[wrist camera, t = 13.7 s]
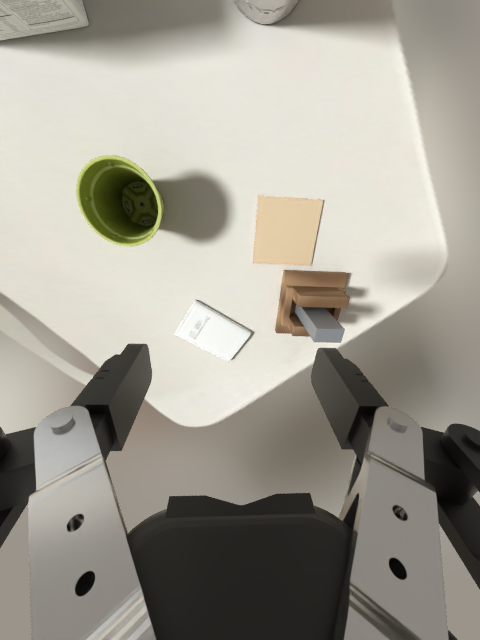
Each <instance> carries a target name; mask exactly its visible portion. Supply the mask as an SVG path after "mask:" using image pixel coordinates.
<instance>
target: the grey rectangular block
mask: <svg viewBox="0 0 480 640" xmlns="http://www.w3.org/2000/svg"><path fill="white" fill-rule="evenodd" d="M295 313H296V314H297V316H298V317H299V319H300V321H301V322H302V324H303V325H304V327H305V329H306V330H307V332H308V333H309V335H310V337H311V338H312V340H313V341H314V342H337V343H341V341H342V337H343V334H344V330H345V329H344V328H343V327H342V326H341V325H340V324H339V322H338V321H337V320H336V319H335V318H334V317H333V316H332V315H331V314H330V313H329V312H328V311H327V310H326V309H325V308H324V307H298V306H297V305H296V307H295Z"/></svg>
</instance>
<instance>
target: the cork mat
mask: <svg viewBox="0 0 480 640" xmlns="http://www.w3.org/2000/svg"><path fill="white" fill-rule="evenodd" d="M322 205H323V200H313V199H297V198H281V197H265V196H258V202H257V215H256V228H255V241H254V254H253V263H259V264H282V265H306V266H311V262H312V257H313V251H314V246H315V241H316V236H317V231H318V225H319V220H320V215H321V210H322Z"/></svg>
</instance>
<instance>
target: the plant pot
mask: <svg viewBox="0 0 480 640" xmlns="http://www.w3.org/2000/svg"><path fill="white" fill-rule="evenodd" d="M134 185H142V186H143V187H137V188H133V187H134ZM76 195H77V201H78V205H79V208H80V210H81V212H82V215H83V217H84V218H85V220H86V221H87V223H88V224H89V225H90V227H91V228H92V229H93V230H94V231H95V232H96V233H97V234H98V235H100V236H101V237H102V238H104V239H105V240H107V241H109V242H111V243H114V244H117V245H120V246H137V245H140V244H143V243H145V242H147V241H148V240H150V239H151V238H152V237H153V236H154V235H155V233H156V232H157V230H158V228H159V226H160V223H161V218H162V216H163V213H164V202H163V199H162V197H161V195H160V193H159V191H158V190H157V189H156V187H155V185H154V183H153V182H152V180H151V179H150V177H149V176H148V175H147V174H146V172H145V171H144V170H143V169H141V168H140V167H139V166H138V165H136V164H135V163H133V162H132V161H130V160H128V159H126V158H123V157H120V156H115V155H104V156H99V157H96V158H94V159H92V160H91V161H89V162H88V163H87V164H86V165H85V166H84V167H83V169H82V170H81V172H80V174H79V177H78V180H77V185H76ZM126 201H127V202H128V207H129V210H130V211H128V209H127V208H126V204H125V202H126ZM141 203H144V206H141ZM143 220H152V222H148V223H144V222H143Z"/></svg>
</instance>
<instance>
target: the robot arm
mask: <svg viewBox="0 0 480 640" xmlns="http://www.w3.org/2000/svg"><path fill="white" fill-rule="evenodd" d="M234 1H235V3H236V5H237V6H238V8H239V9H240V10H241V12H242V13H243V14H244V15H245V16H246V17H248V18H249V19H251V20H253V21H254V22H257V23H261V24H272V23H275V22H277V21H280V20H281V19H283V18H284V17H286V16H287V15H288V14H289V13H290V12H291V11H292V9H293V8H294V7H295V5H296V4H297V2H298V1H299V0H234ZM151 379H152V369H151V362H150V356H149V349H148V346H147V344H128V345H127V346H126V348H125V349H124V350H123V352H122V353H121V355H114V356H113V357H111V358H110V359H108V360H107V361H105V362H104V364H103V365H102V366H101V367H100V369H99V371H98V372H97V373H96V374H95V375H94V376H93V379H91V380H90V382H89V383H88V384H87V385H86V387H85V388H84V389H83V391H82V392H81V393H80V394H79V396H78V397H77V398H76V400H75V401H74V402H73V403H72V405H71V406H69V407H65V408H62V409H59V410H57V411H55V412H54V413H51V414H50V415H48V416H47V417H46V418H45V419H43V420H42V421H41V422H40V423H39V424H38V426H37V427H35V428H31V429H26V430H22V431H19V432H14V433H10V434H6V435H5V433H4V432H3V430H2V428H1V427H0V548H1V546H2V544H3V543H4V541H5V539H6V538H7V536H8V534H9V533H10V531H11V529H12V528H13V526H14V525H15V523H16V521H17V520H18V518H19V517H20V515H21V513H22V512H23V510H24V508H25V507H26V505H27V504H28V510H29V511H28V513H29V558H30V603H31V605H30V606H31V640H457V638H456V637H455V636H454V635H453V634H452V633H451V632H450V631H449V630H448V626H447V615H446V603H445V591H444V580H443V567H442V557H441V545H440V532H439V524H440V526H441V527H442V529H443V530H444V532H445V533H446V535H447V537H448V539H449V540H450V542H451V543H452V545H453V547H454V548H455V550H456V552H457V553H458V555H459V556H460V558H461V560H462V561H463V563H464V565H465V566H466V568H467V569H468V571H469V573H470V574H471V576H472V578H473V579H474V581H475V582H476V584H477V586H478V587H479V589H480V506H479V504H478V503H477V502H476V501H475V499H474V498H473V495H474V494H475V493H476V492H477V491H479V492H480V431H478V430H476V429H474V428H472V427H469V426H466V425H463V424H451V425H450V426H449V427H448V428H447V430H446V431H445V433H443V432H439V431H435V430H431V429H427V428H423V427H420V426H419V424H418V423H417V422H416V421H415V420H414V419H413V418H412V417H411V416H410V415H408V414H407V413H405V412H403V411H401V410H399V409H396V408H393V407H389V406H388V405H387V403H386V402H385V401H384V399H383V398H382V397H381V396H380V395H379V394H378V392H377V391H376V389H375V388H374V387H373V386H372V384H371V383H370V382H368V380H367V378H366V377H365V376H364V375H363V373H362V372H361V371H360V369H359V368H358V367H357V366H356V365H355V364H353V363H352V362H351V361H349V360H348V359H344V358H343V357H342V355H341V354H340V353H339V351H338V350H337V349H336V348H319V349H318V350H317V353H316V357H315V361H314V365H313V369H312V374H311V381H312V386H313V388H314V390H315V392H316V394H317V397H318V399H319V401H320V403H321V405H322V407H323V409H324V412H325V414H326V416H327V418H328V420H329V422H330V425H331V427H332V429H333V431H334V433H335V435H336V437H337V440H338V442H339V444H340V446H341V448H342V449H353V450H354V451H355V453H356V456H355V458H354V461H353V466H352V470H351V474H350V478H349V482H348V486H347V490H346V495H345V499H344V503H343V506H342V509H341V512H340V514H339V517H336V516H335V515H333V514H331V513H329V512H328V511H326V510H324V509H321V508H319V507H316V506H313V502H312V499H311V495H310V493H294V494H293V493H292V494H275V495H272V496H269V497H266V498H263V499H261V500H258V501H255V502H252V503H249V504H246V505H236V504H233V503H229V502H226V501H222V500H219V499H215V498H212V497H208V496H170V497H169V502H168V506H167V509H166V510H162V511H160V512H158V513H156V514H154V515H152V516H150V517H149V518H147V519H145V520H144V521H143V522H141V523H140V524H138V525H137V526H136V527H135V528H133V529H132V530H131V531H130V532H129V533H128V530H127V527H126V524H125V521H124V518H123V515H122V512H121V509H120V506H119V503H118V499H117V496H116V493H115V490H114V486H113V483H112V480H111V477H110V474H109V470H108V467H107V464H106V459H107V456H108V454H109V452H110V451H122V448H123V446H124V444H125V441H126V439H127V437H128V434H129V432H130V430H131V428H132V425H133V423H134V420H135V418H136V416H137V414H138V411H139V409H140V407H141V404H142V402H143V400H144V397H145V395H146V393H147V390H148V388H149V386H150V383H151Z"/></svg>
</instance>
